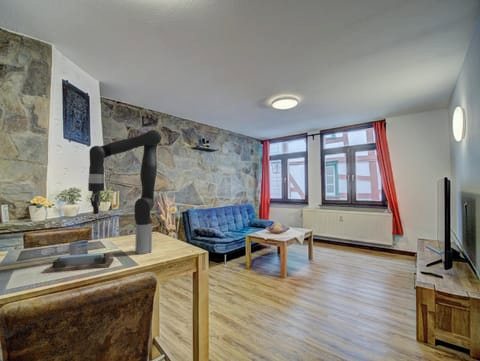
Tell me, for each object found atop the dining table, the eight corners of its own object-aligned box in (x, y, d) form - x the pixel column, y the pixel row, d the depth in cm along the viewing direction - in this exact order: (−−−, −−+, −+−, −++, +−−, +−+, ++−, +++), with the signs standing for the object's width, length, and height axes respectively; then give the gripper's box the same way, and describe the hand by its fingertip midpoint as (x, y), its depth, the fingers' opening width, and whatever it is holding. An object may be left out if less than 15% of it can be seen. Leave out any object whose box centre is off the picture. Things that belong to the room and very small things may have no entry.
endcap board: (113, 260, 124) (113, 252, 124) (109, 267, 114) (109, 258, 114) (55, 265, 116) (56, 256, 116) (46, 273, 106) (46, 263, 106)
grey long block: (103, 260, 120) (103, 252, 120) (101, 262, 116) (101, 254, 116) (62, 264, 114) (62, 255, 114) (59, 266, 110) (59, 258, 111)
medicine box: (75, 259, 126) (76, 243, 126) (69, 258, 126) (69, 243, 127) (88, 255, 133) (88, 240, 133) (81, 254, 134) (81, 239, 134)
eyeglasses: (69, 251, 142) (69, 244, 142) (73, 254, 137) (73, 248, 137) (39, 256, 131) (40, 249, 131) (42, 260, 126) (43, 253, 126)
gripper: (101, 182, 121) (100, 215, 121) (107, 182, 134) (106, 212, 133) (84, 182, 119) (84, 215, 118) (92, 182, 131) (91, 212, 131)
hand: (95, 213), depth 126 cm, fingers closed
